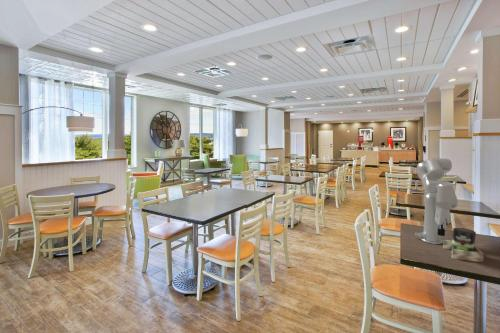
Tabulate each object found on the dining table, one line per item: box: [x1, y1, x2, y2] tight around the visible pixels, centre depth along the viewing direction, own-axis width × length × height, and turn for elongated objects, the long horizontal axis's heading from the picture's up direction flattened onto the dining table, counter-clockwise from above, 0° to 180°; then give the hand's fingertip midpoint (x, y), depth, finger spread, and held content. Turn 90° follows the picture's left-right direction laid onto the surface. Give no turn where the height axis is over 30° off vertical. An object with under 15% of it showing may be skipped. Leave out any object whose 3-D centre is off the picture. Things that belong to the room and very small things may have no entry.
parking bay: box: [442, 239, 485, 263], centre depth 159 cm, size 14×16×5 cm
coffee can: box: [451, 227, 477, 253], centre depth 159 cm, size 10×10×14 cm
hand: (440, 235), depth 162 cm, fingers closed
